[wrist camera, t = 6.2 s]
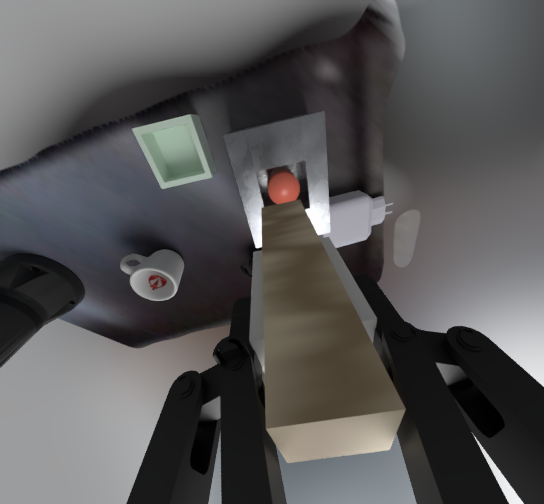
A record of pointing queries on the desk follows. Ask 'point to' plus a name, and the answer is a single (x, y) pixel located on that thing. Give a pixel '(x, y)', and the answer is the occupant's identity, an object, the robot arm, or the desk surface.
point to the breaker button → (282, 186)
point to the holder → (177, 150)
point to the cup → (155, 274)
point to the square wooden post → (317, 351)
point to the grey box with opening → (282, 166)
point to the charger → (354, 217)
